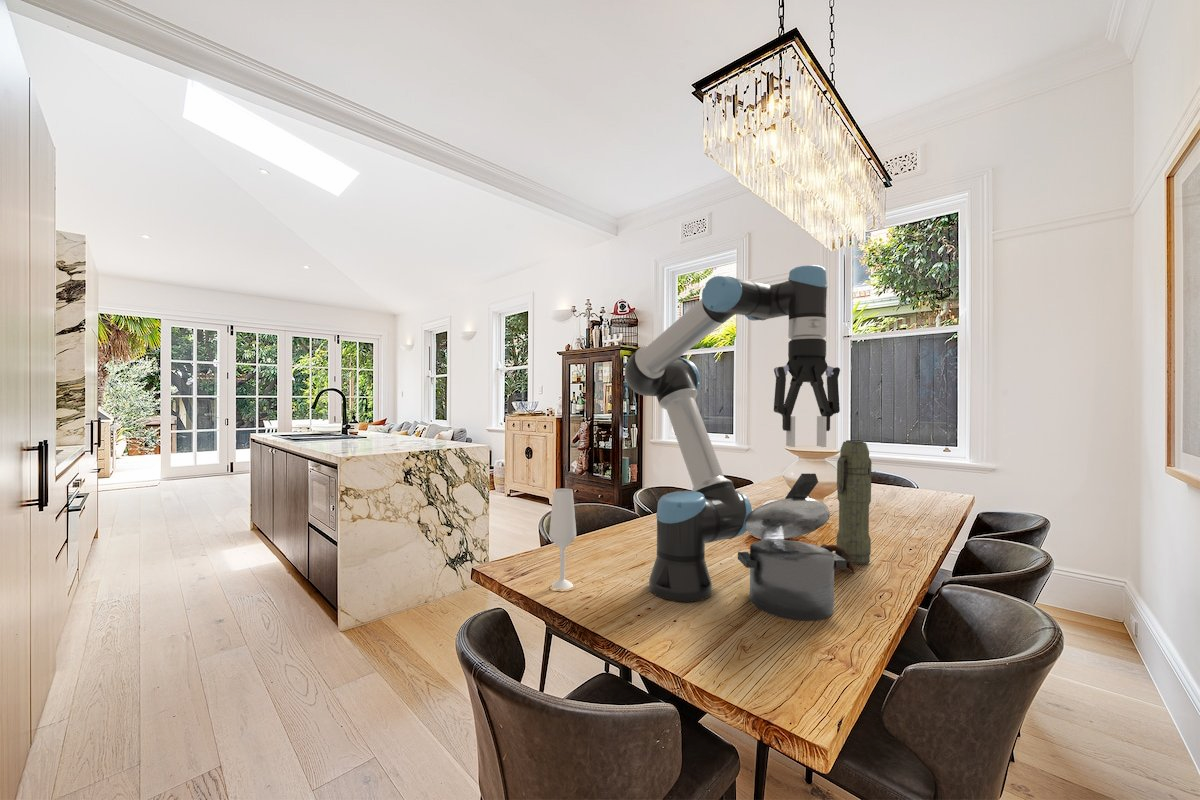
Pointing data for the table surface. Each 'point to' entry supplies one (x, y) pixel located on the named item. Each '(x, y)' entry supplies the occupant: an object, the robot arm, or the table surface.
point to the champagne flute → (562, 529)
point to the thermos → (854, 500)
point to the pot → (792, 578)
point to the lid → (789, 513)
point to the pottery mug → (842, 554)
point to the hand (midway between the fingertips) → (805, 446)
